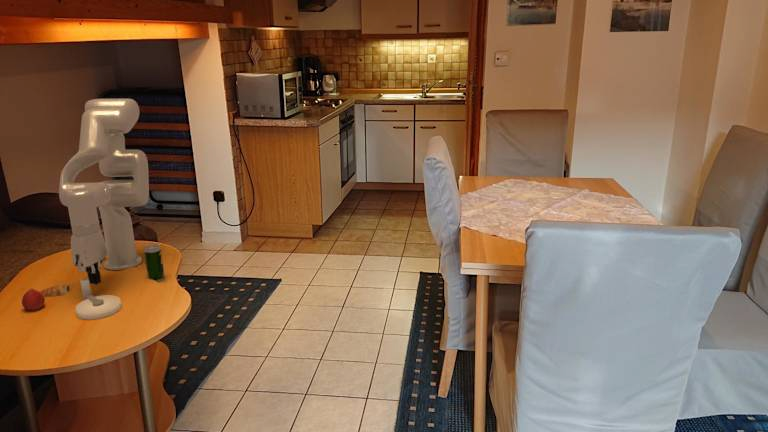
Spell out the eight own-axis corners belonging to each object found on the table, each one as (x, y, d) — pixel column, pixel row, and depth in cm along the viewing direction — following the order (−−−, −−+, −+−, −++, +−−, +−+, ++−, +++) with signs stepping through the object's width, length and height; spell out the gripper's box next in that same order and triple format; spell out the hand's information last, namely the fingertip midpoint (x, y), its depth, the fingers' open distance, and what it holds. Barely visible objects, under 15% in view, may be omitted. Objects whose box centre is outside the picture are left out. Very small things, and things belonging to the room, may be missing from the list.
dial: (127, 309, 164) (124, 288, 162) (85, 323, 156) (81, 301, 153) (106, 292, 175) (103, 272, 173) (65, 305, 166) (61, 284, 164)
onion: (23, 317, 162) (18, 293, 159) (25, 309, 166) (20, 286, 164) (46, 313, 164) (41, 289, 162) (47, 305, 169) (42, 282, 166)
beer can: (150, 283, 184) (145, 250, 181) (146, 278, 189) (142, 246, 185) (166, 280, 187) (162, 247, 184) (163, 274, 192) (158, 243, 188)
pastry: (35, 303, 171) (33, 292, 170) (39, 294, 177) (37, 284, 176) (69, 298, 174) (67, 288, 173) (72, 290, 180) (70, 279, 179)
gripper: (93, 220, 175) (101, 272, 181) (56, 235, 161) (67, 291, 167) (113, 222, 173) (121, 274, 179) (78, 237, 159) (88, 294, 165)
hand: (95, 282), depth 173 cm, fingers closed
